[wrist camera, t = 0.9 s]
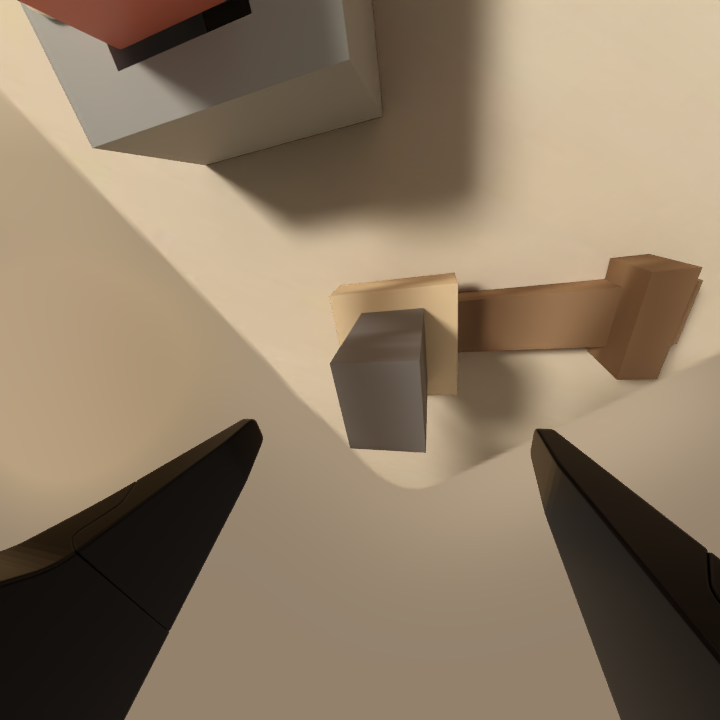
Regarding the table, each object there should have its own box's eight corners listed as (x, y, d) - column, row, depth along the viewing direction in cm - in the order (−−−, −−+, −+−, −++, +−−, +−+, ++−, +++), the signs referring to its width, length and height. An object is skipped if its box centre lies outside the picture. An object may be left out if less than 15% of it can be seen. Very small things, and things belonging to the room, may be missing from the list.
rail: (684, 250, 12) (748, 263, 10) (648, 348, 15) (693, 378, 12) (349, 286, 17) (334, 302, 14) (362, 358, 19) (351, 382, 17)
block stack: (454, 272, 14) (471, 327, 8) (454, 375, 16) (467, 473, 11) (340, 285, 15) (282, 339, 9) (358, 376, 18) (322, 462, 12)
